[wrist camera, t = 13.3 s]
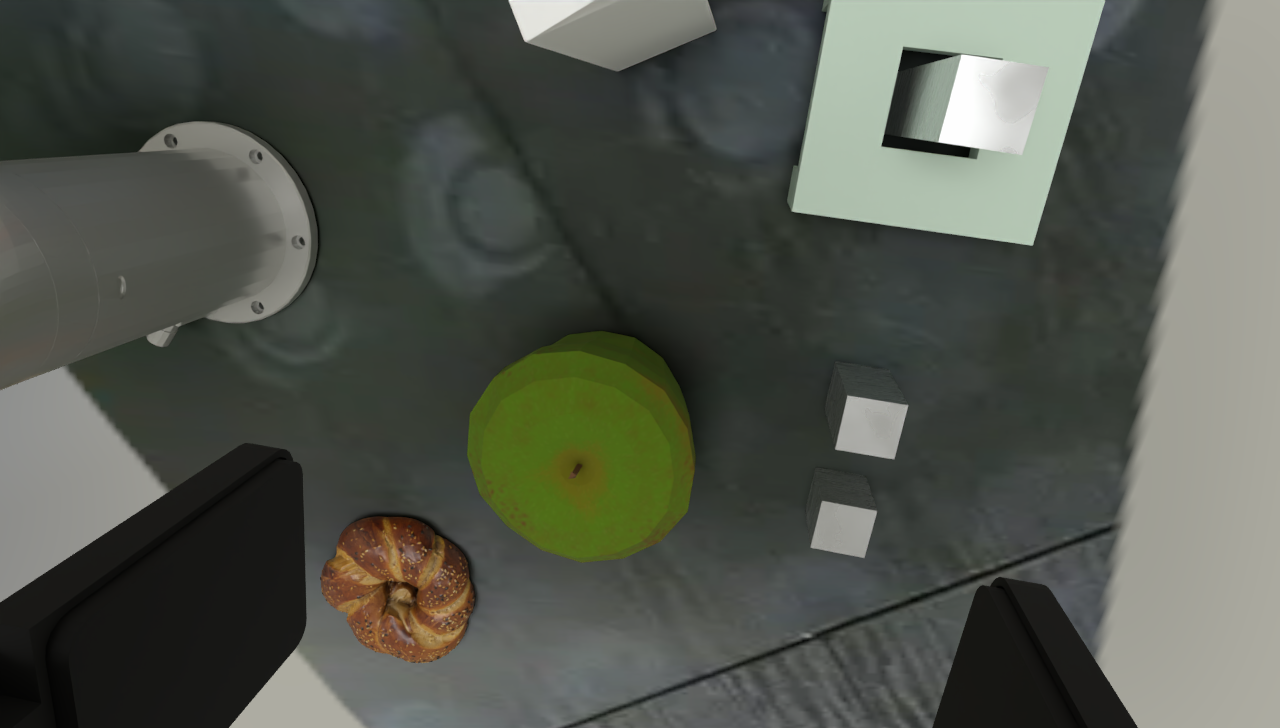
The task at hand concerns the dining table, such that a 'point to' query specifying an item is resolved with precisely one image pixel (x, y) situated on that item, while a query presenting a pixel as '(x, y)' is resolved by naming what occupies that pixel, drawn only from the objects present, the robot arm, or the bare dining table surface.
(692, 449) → the apple
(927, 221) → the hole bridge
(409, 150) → the dining table surface
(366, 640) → the pretzel
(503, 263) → the dining table surface
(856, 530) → the short pin
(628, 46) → the milk
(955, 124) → the long pin
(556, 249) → the dining table surface
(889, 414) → the medium pin
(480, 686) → the dining table surface
